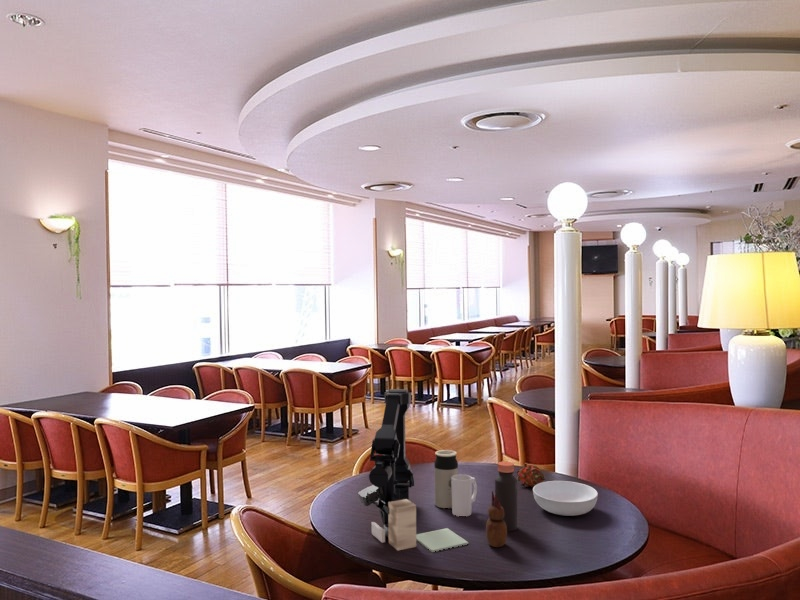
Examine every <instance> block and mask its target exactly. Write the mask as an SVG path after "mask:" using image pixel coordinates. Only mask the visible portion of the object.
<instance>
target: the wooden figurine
mask: <svg viewBox="0 0 800 600" xmlns="http://www.w3.org/2000/svg"><path fill="white" fill-rule="evenodd" d="M487 513H488V519H487V521H486V524H485V536H486V540H487V544H489V546H491V547H494V548H502V547H503V546H504V545H505V544H506V541H507V538H508V532H507V526H506V523H505V521H504V520H503V518H504V509H503V507H502V506H501V505H500V502H499V501H498V499H497V497H496V494H495V493H494V491H491V505H490V506H489V507H488V511H487Z"/></svg>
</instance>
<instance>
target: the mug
mask: <svg viewBox="0 0 800 600" xmlns="http://www.w3.org/2000/svg"><path fill="white" fill-rule="evenodd" d="M451 488H452V508H451V509H452V510H451V512H452V515H453V516H455V515H456V517H459V516H466V517H469V516H471V515H472V508H473V507H472V506H473V505H472V504H473V503H475V501H476V498H477V492H478V485H477V482H476V478H475V477H472V476H471V475H469V474H465V473H463V474H461V473H458V474H457V475H453V476H452V477H451Z"/></svg>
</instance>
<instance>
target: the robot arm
mask: <svg viewBox="0 0 800 600" xmlns="http://www.w3.org/2000/svg"><path fill="white" fill-rule="evenodd" d="M411 403H412V392H410V391H409V390H408V389H406V388H405V389H404V388H402V389H401V388H400V389H399V388H390V389H389V391H385V392H384V404H385V407H384V412H383V415H382V416H383V417H382V422H381V426H380V428H379V429H377V431H376V432H375V435H374V438H373V439H372V442H371V451H370V456H369V461H370V462H374V466H373V467H372V469H371V470H370V472H369V475H368V479H369V481H370V483H371V484H372V485H369V486H367V487H365V488H363V489H361V490H360V491H358V493H357V495H358V497H359V500H360V503H361V504H363V505H364V507H368V506H371V505H373V506H375V507H376V508H377V509H378V510H379V515H380V518H381V521H382V524H383V526H384V524H388V514H389V507H388V502H392V501H397V500H403V499H408V500H409V501H411V502H412V503H414V502H413V501H412V500H410V488H412V487H415V475H414V473H413V470H412V469H411V463H410V461H409V459H408V457H407V456H406V413H407V411H408V410H409V408H410V404H411Z"/></svg>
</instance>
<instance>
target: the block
mask: <svg viewBox="0 0 800 600" xmlns="http://www.w3.org/2000/svg"><path fill="white" fill-rule="evenodd" d="M409 500H410V499H409ZM409 500H408V499H403V500H397V501H392V502H388V507H389V514H388V524H389V538H388V544H389V545H390V546H392V547H393V548H394V549H395V550H396V551H401V550H402V551H404V550H407V549H412V548H416V547H417V540H416V534H417V505H416V504H415V503H414V502H413V501H412V500H410V501H409ZM411 501H412V502H413V503H412V502H411Z"/></svg>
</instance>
